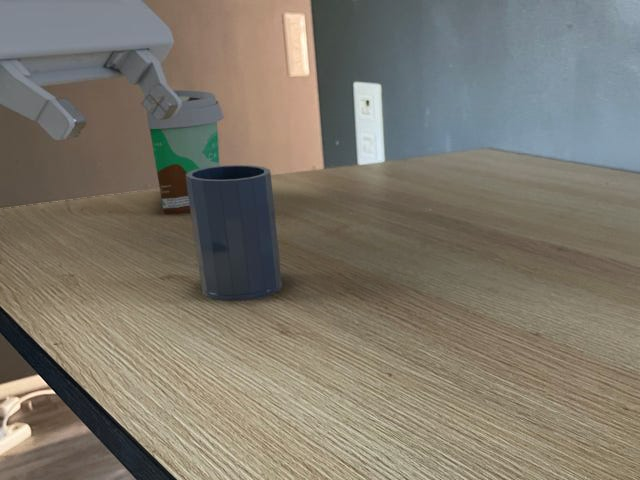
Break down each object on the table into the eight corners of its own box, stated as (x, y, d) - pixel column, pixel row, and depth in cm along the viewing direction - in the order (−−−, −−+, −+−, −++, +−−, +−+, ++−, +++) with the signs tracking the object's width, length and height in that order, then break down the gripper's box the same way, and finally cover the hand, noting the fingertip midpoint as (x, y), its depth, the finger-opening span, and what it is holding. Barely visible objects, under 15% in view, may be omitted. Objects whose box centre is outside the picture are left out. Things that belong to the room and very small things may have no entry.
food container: (234, 216, 73) (220, 102, 69) (163, 220, 71) (144, 104, 67) (233, 188, 84) (221, 88, 80) (171, 191, 82) (155, 89, 78)
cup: (189, 301, 52) (170, 179, 49) (222, 277, 57) (207, 163, 54) (265, 305, 52) (252, 182, 48) (292, 280, 56) (281, 166, 53)
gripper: (67, -5, 61) (197, 132, 62) (-213, -8, 43) (-21, 185, 44) (105, -72, 58) (240, 73, 59) (-179, -106, 40) (25, 104, 41)
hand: (126, 121), depth 52 cm, fingers open, 8 cm apart
